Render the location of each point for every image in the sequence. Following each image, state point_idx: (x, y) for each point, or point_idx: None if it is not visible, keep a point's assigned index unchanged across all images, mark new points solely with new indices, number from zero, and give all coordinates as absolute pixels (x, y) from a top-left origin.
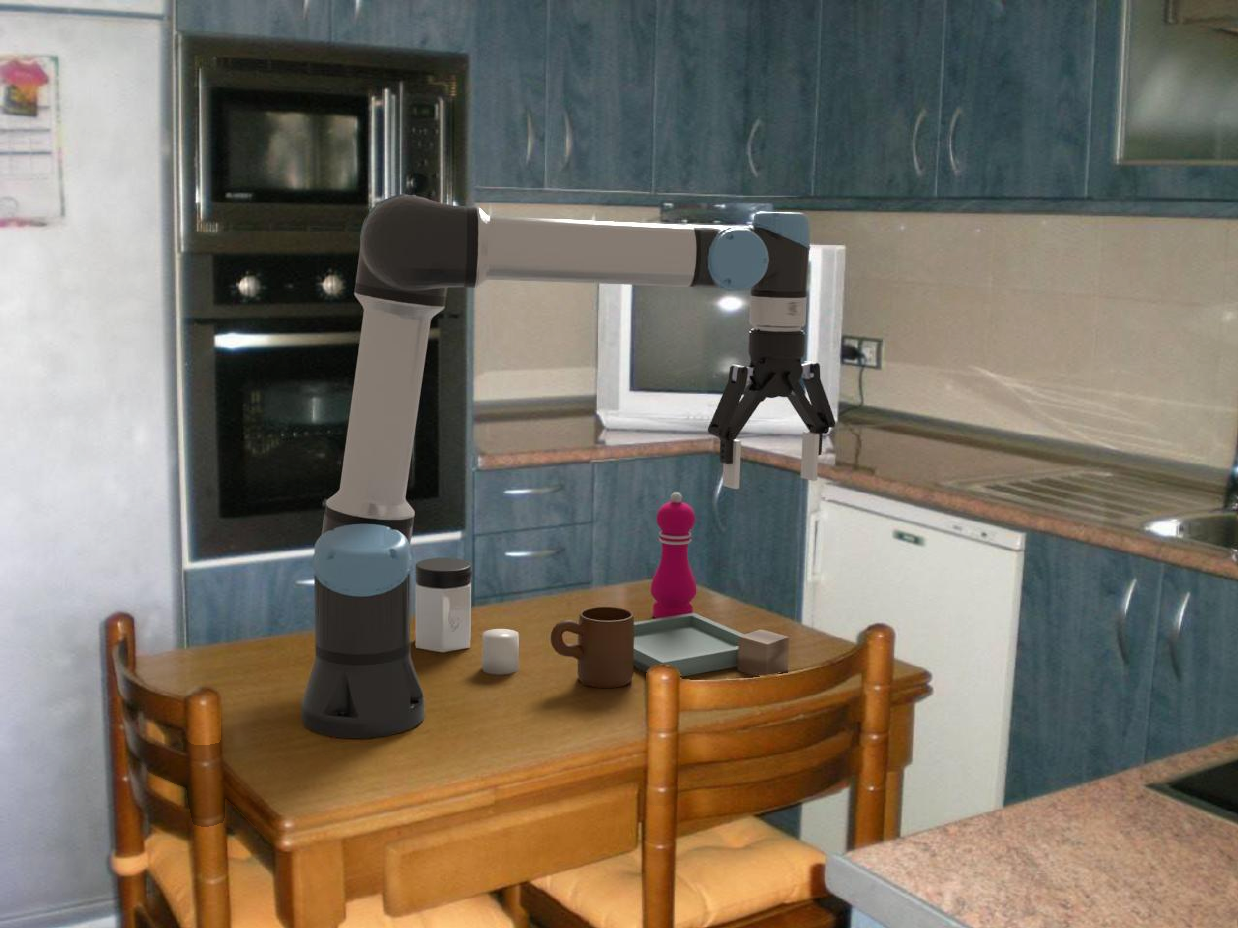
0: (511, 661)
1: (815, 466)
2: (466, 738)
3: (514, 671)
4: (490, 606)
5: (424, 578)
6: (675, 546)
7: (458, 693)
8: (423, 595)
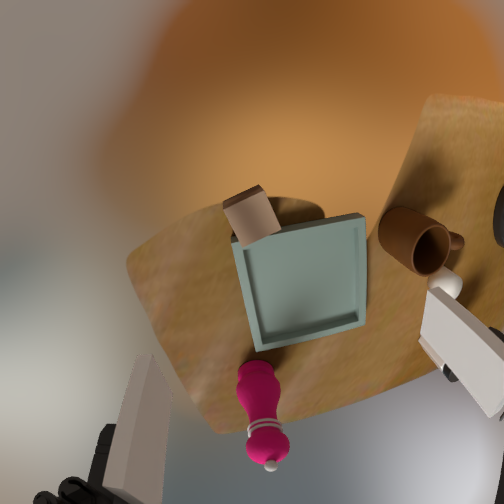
0: (442, 269)
1: (136, 386)
2: (492, 157)
3: None
4: (367, 398)
5: None
6: (270, 417)
7: (473, 235)
8: None
